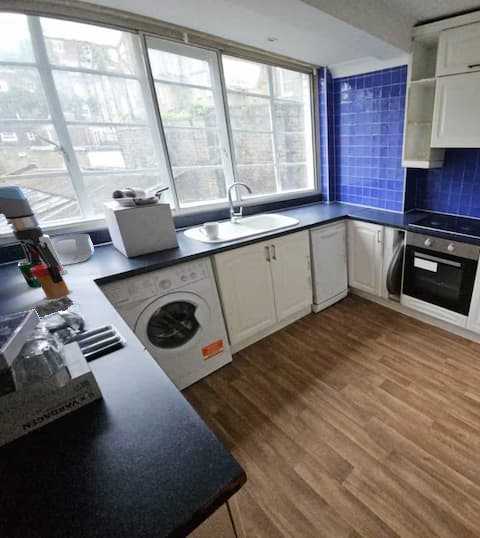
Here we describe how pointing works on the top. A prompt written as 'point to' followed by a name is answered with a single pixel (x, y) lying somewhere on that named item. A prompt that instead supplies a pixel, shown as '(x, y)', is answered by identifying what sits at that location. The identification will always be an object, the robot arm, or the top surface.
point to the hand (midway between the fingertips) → (51, 280)
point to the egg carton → (53, 306)
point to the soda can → (28, 274)
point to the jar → (53, 287)
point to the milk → (46, 239)
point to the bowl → (73, 248)
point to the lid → (41, 270)
